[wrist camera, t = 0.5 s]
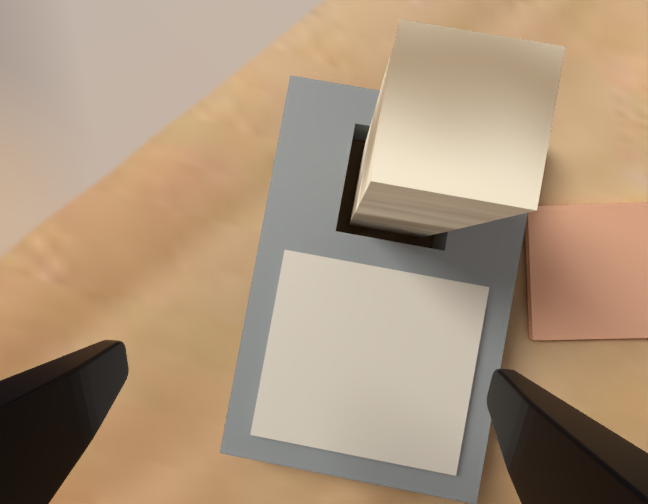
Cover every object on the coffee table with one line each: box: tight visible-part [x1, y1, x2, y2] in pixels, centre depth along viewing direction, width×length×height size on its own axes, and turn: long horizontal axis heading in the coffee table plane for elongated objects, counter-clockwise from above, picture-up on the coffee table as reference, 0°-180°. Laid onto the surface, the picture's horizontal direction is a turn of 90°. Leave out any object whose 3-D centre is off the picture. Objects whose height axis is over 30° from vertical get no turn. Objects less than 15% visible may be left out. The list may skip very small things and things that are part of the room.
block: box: [349, 19, 566, 238], centre depth 15 cm, size 4×4×12 cm
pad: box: [525, 203, 648, 340], centre depth 21 cm, size 8×8×1 cm
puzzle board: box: [220, 76, 528, 504], centre depth 20 cm, size 21×14×3 cm, turn 170°
